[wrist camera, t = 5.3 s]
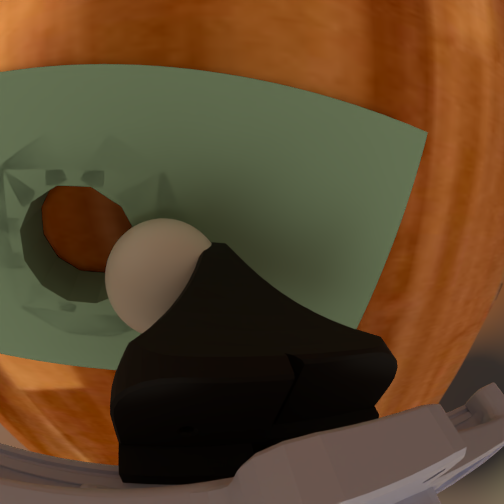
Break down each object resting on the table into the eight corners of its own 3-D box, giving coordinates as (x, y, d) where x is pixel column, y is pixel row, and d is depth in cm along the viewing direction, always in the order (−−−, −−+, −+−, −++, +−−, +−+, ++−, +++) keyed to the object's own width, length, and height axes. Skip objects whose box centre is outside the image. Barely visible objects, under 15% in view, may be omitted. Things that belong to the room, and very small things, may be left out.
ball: (126, 375, 9) (94, 293, 11) (229, 345, 11) (181, 279, 14) (129, 277, 7) (95, 200, 9) (261, 256, 9) (199, 196, 12)
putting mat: (396, 123, 14) (427, 132, 12) (323, 338, 20) (337, 365, 18) (-13, 78, 8) (-43, 80, 6) (13, 325, 15) (0, 353, 13)
